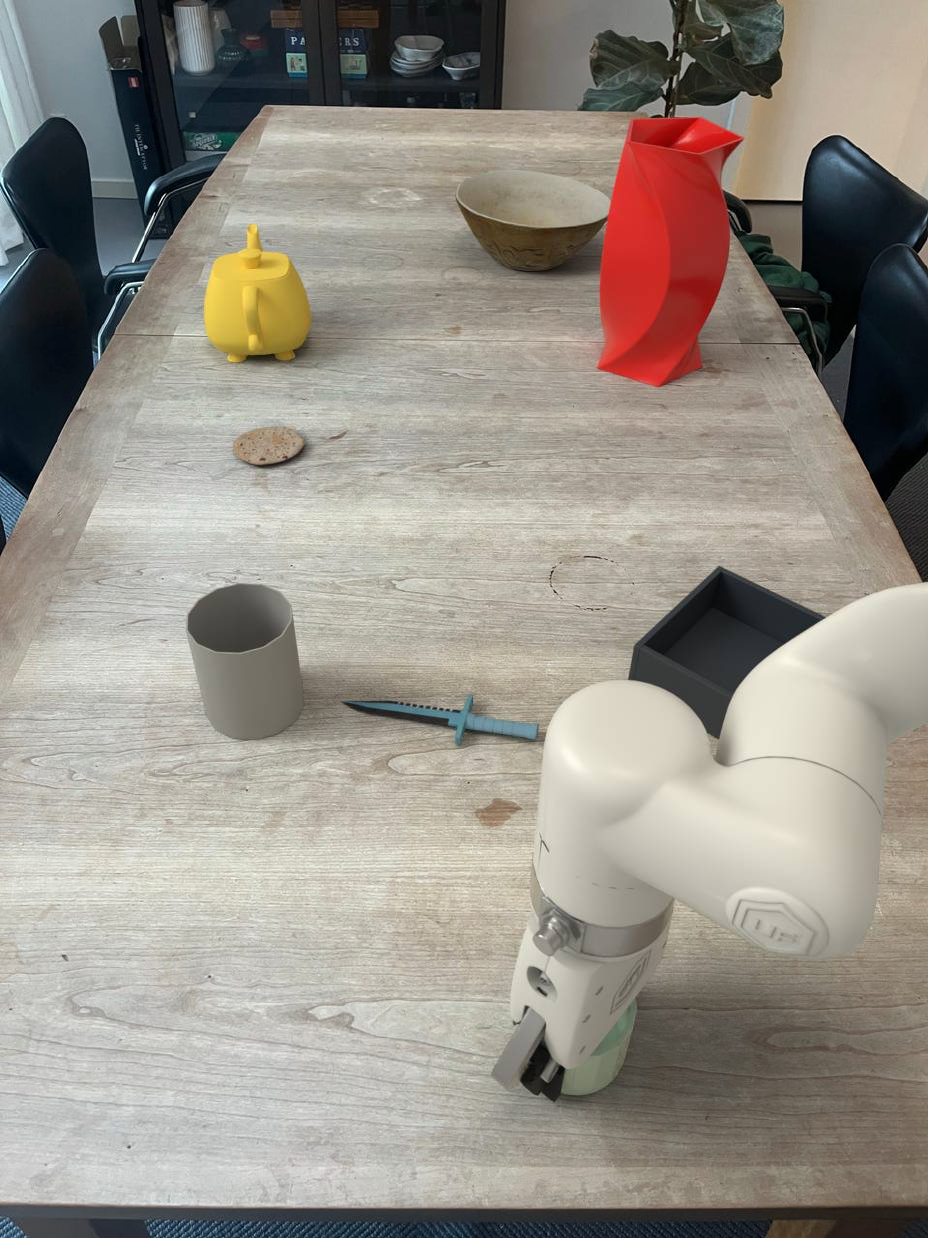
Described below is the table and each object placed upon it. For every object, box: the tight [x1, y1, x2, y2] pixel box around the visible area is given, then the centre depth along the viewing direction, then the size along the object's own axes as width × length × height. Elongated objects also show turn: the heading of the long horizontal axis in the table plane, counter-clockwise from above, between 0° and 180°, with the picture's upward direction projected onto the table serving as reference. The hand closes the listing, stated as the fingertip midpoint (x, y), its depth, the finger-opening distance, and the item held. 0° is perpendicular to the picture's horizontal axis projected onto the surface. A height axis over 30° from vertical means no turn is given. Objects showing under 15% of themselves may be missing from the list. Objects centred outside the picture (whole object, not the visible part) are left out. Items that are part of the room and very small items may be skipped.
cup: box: [185, 582, 305, 741], centre depth 83 cm, size 8×8×10 cm
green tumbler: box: [539, 998, 638, 1096], centre depth 63 cm, size 7×7×6 cm
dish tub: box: [627, 565, 827, 740], centre depth 87 cm, size 14×14×5 cm
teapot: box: [203, 223, 312, 363], centre depth 130 cm, size 14×20×13 cm
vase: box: [596, 116, 745, 388], centre depth 123 cm, size 15×14×28 cm
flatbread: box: [232, 426, 306, 466], centre depth 115 cm, size 8×8×1 cm
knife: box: [340, 693, 540, 746], centre depth 85 cm, size 17×1×5 cm
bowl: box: [454, 168, 611, 272], centre depth 152 cm, size 24×24×10 cm
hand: (573, 1036), depth 64 cm, fingers closed on green tumbler, 6 cm apart
